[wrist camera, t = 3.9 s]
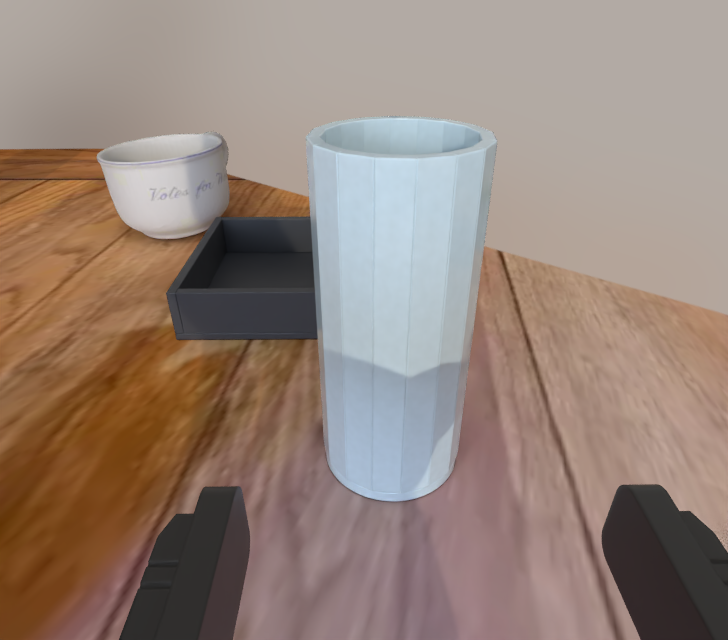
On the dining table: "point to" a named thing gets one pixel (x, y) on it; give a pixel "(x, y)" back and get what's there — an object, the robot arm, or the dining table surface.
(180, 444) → the dining table surface
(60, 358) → the dining table surface
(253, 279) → the tray
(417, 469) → the tumbler
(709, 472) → the dining table surface
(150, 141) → the teacup
